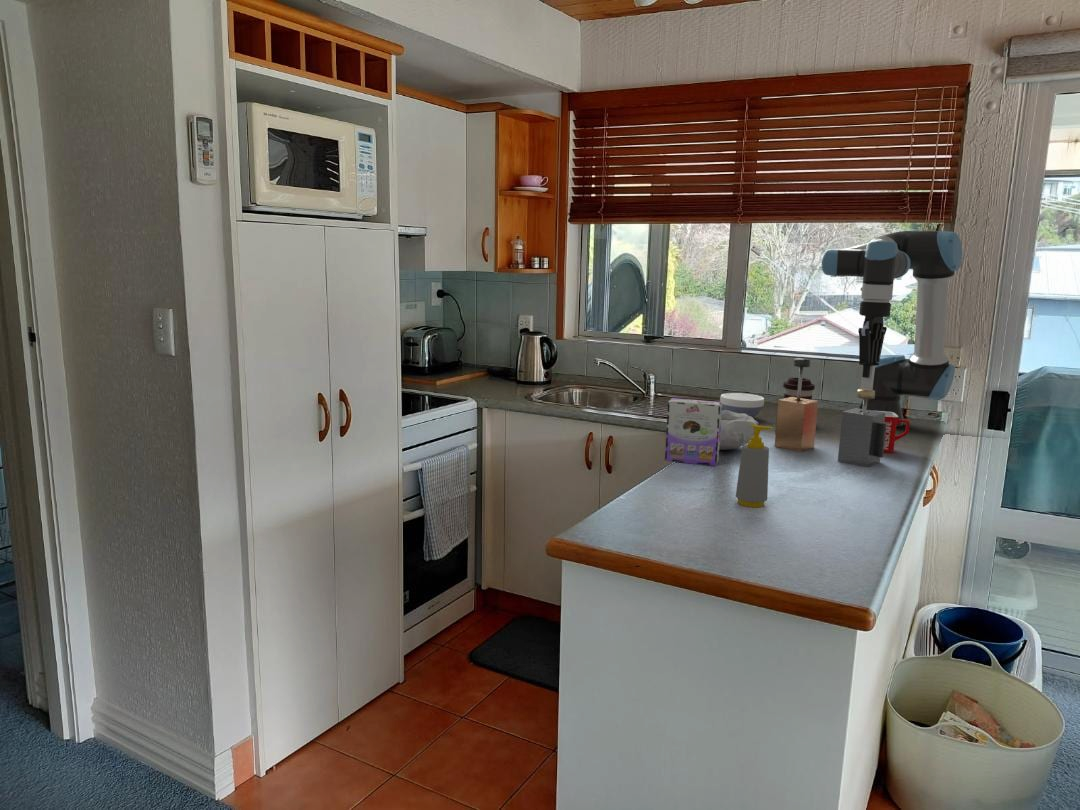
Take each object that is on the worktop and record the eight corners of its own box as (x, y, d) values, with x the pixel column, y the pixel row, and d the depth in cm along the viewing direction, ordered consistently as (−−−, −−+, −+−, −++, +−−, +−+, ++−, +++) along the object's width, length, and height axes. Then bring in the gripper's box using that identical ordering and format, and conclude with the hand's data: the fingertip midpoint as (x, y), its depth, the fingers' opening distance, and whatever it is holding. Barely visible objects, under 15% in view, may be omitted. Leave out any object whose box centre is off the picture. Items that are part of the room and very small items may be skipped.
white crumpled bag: (685, 437, 242) (687, 405, 240) (755, 442, 238) (757, 409, 236) (683, 454, 222) (685, 418, 220) (759, 460, 218) (762, 424, 216)
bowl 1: (768, 418, 276) (769, 396, 274) (754, 425, 263) (756, 402, 262) (727, 412, 283) (728, 391, 282) (712, 419, 271) (714, 397, 270)
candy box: (719, 461, 215) (723, 401, 212) (716, 466, 210) (720, 405, 207) (667, 456, 220) (671, 396, 216) (663, 461, 214) (667, 400, 211)
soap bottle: (762, 510, 175) (768, 429, 171) (730, 504, 178) (737, 425, 175) (771, 502, 180) (777, 424, 177) (740, 496, 184) (746, 420, 181)
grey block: (850, 456, 225) (855, 408, 222) (887, 463, 218) (892, 413, 215) (837, 461, 219) (842, 411, 217) (874, 468, 212) (880, 417, 210)
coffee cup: (812, 427, 262) (817, 382, 259) (781, 425, 264) (785, 380, 261) (809, 421, 272) (813, 377, 269) (778, 419, 274) (782, 375, 271)
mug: (865, 451, 231) (869, 415, 229) (860, 445, 239) (863, 410, 237) (909, 454, 229) (913, 418, 227) (902, 448, 237) (907, 412, 235)
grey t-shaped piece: (792, 415, 237) (797, 357, 234) (811, 418, 233) (816, 359, 230) (782, 417, 233) (787, 358, 230) (801, 420, 229) (807, 361, 225)
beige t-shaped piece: (853, 448, 223) (860, 387, 220) (875, 452, 219) (882, 390, 216) (844, 451, 219) (850, 389, 216) (866, 456, 215) (872, 393, 212)
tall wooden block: (781, 440, 242) (785, 395, 239) (813, 447, 235) (818, 400, 232) (768, 444, 236) (772, 398, 233) (800, 451, 229) (805, 404, 226)
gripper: (871, 299, 218) (862, 385, 223) (851, 300, 209) (842, 389, 214) (900, 301, 213) (890, 389, 218) (880, 302, 204) (870, 393, 208)
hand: (866, 389), depth 216 cm, fingers closed
